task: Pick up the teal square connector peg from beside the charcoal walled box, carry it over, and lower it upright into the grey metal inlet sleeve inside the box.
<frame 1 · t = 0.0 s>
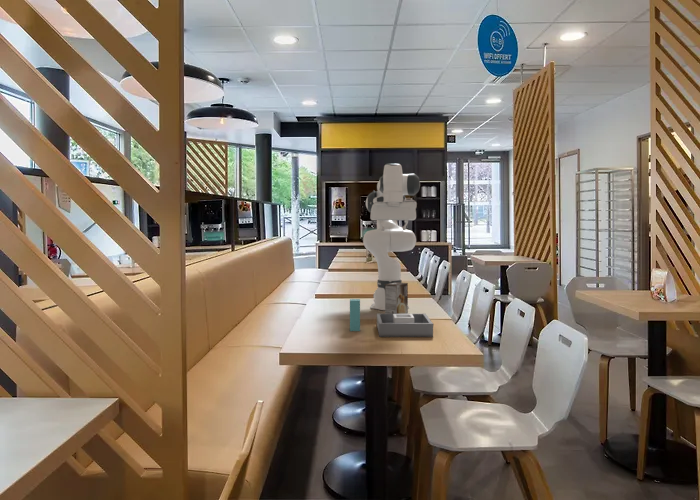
hand: (393, 230, 217), 39 cm above the table, tool pointing down, fingers open, 8 cm apart
connector peg: (355, 329, 195), on the table
inlet box: (403, 330, 193), on the table
coffee box: (396, 320, 214), on the table
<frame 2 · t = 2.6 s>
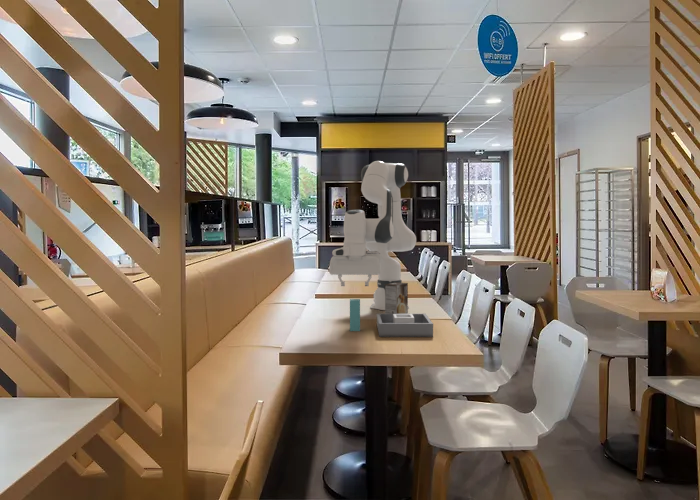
hand: (354, 286, 194), 18 cm above the table, tool pointing down, fingers open, 8 cm apart
nothing on the table moved.
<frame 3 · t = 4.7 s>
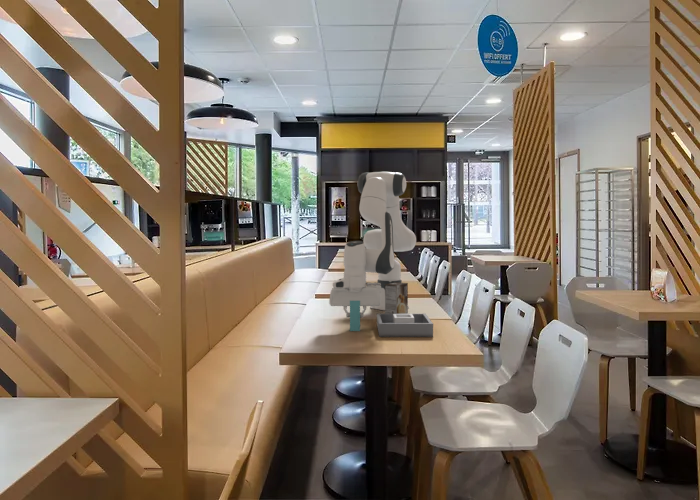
hand: (354, 317, 195), 5 cm above the table, tool pointing down, fingers closed on connector peg, 4 cm apart
connector peg: (355, 329, 195), on the table, touching gripper
everything else where it was.
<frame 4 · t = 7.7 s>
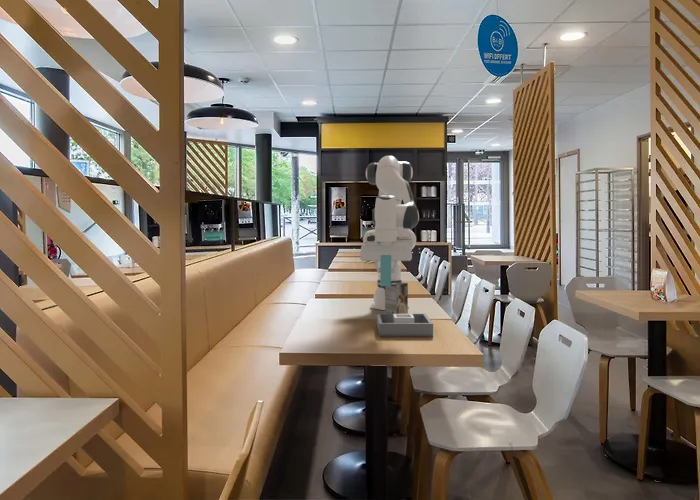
hand: (385, 272, 192), 23 cm above the table, tool pointing down, fingers closed on connector peg, 4 cm apart
connector peg: (385, 285, 192), point 18 cm above the table, touching gripper
everything else where it was.
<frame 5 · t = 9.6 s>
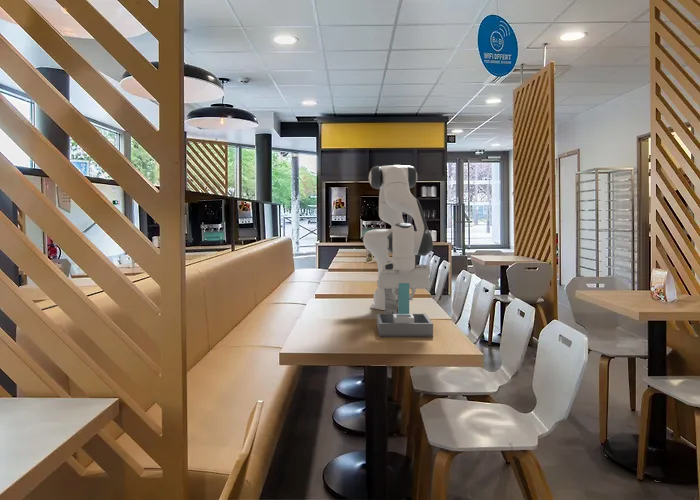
hand: (403, 300, 192), 12 cm above the table, tool pointing down, fingers closed on connector peg, 4 cm apart
connector peg: (403, 313, 192), point 7 cm above the table, touching gripper
everything else where it was.
when the fingers open (7 cm above the table, at t = 11.0 s): connector peg drops 1 cm, resting on inlet box.
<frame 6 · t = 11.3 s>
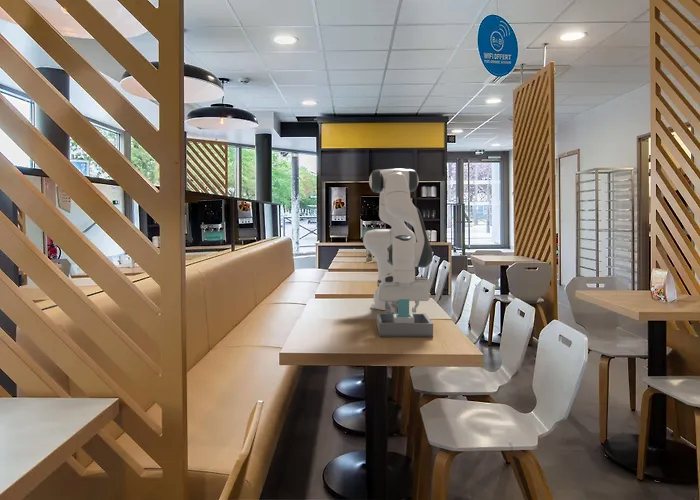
hand: (403, 312, 192), 7 cm above the table, tool pointing down, fingers open, 7 cm apart
connector peg: (403, 328, 193), point 1 cm above the table, touching inlet box
everything else where it was.
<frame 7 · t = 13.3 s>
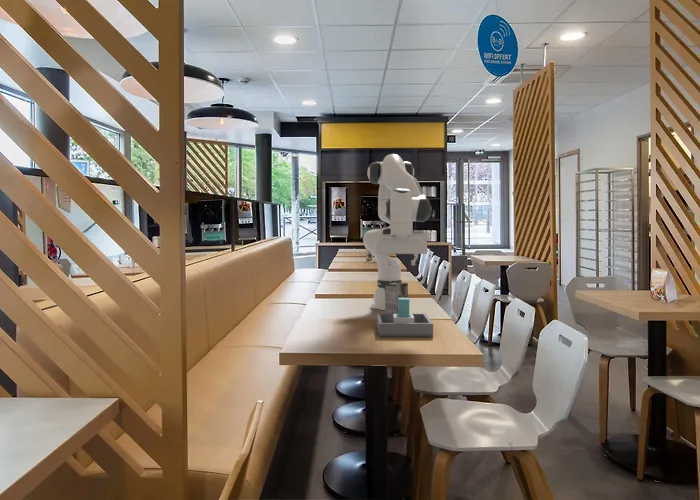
hand: (401, 265, 193), 26 cm above the table, tool pointing down, fingers open, 8 cm apart
nothing on the table moved.
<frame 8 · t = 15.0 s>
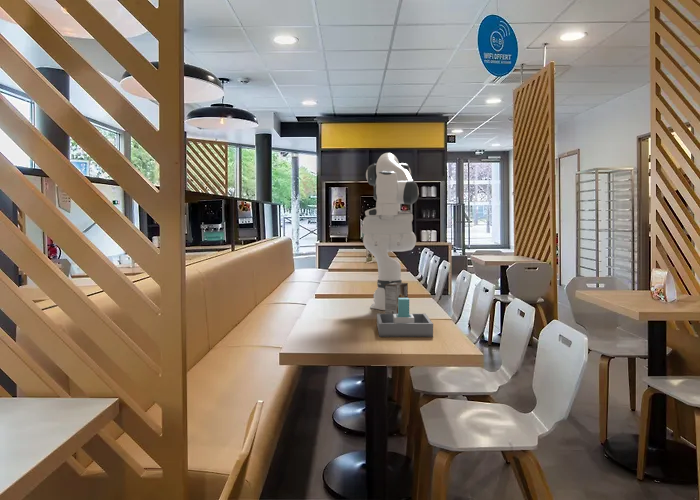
hand: (387, 245, 199), 33 cm above the table, tool pointing down, fingers open, 8 cm apart
nothing on the table moved.
at the end: connector peg 0.0 cm off-centre on the inlet box, point 0.8 cm above the inlet box's base; connector peg tilted 0°; the gripper is holding nothing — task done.
